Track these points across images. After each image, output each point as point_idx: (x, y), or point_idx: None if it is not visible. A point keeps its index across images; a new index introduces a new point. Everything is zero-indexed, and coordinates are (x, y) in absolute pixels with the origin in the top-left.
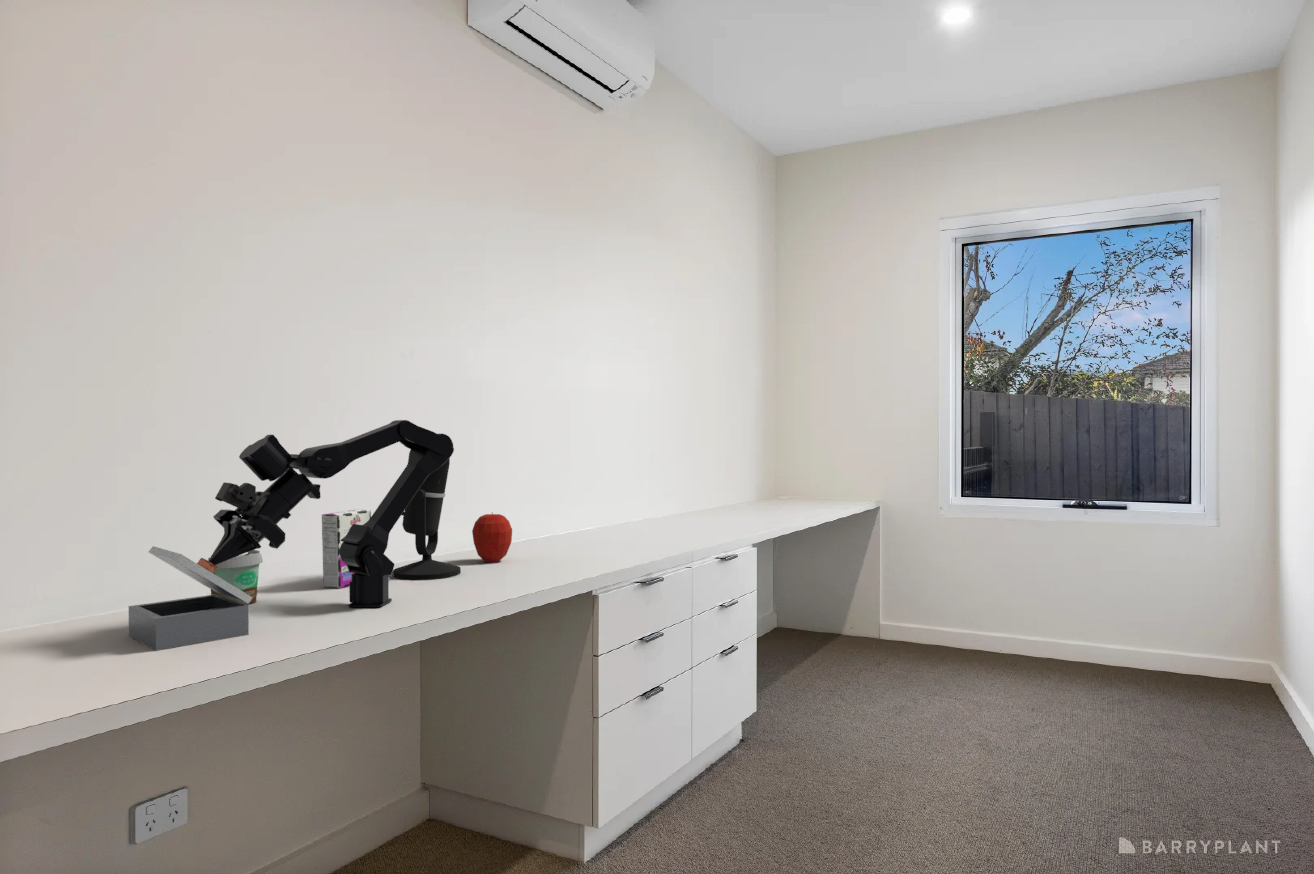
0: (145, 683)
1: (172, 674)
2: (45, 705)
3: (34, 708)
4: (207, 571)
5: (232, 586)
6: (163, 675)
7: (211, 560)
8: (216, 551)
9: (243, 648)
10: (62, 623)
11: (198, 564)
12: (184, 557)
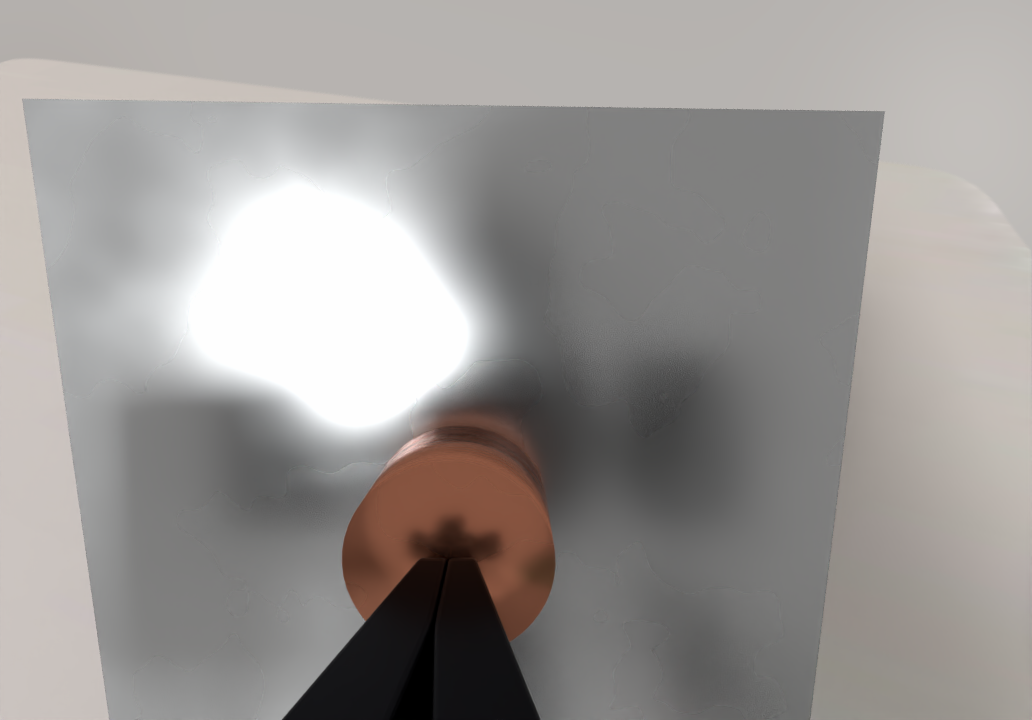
0: (10, 239)
1: (10, 302)
2: (84, 99)
3: (86, 87)
4: (71, 400)
5: (105, 643)
6: (29, 285)
7: (414, 570)
8: (434, 657)
9: (46, 587)
10: (1004, 268)
11: (425, 440)
12: (38, 148)
